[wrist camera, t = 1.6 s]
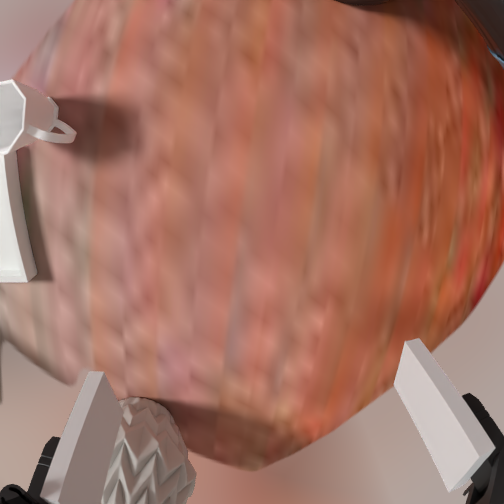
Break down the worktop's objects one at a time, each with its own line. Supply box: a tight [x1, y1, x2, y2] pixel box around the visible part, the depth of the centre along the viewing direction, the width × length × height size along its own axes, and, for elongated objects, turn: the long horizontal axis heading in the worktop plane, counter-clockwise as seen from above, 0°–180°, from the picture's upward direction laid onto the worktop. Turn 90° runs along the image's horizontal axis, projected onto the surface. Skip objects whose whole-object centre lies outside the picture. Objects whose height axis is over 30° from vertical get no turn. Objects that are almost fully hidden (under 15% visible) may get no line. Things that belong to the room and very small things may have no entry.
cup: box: [0, 79, 77, 155], centre depth 22 cm, size 7×10×8 cm
